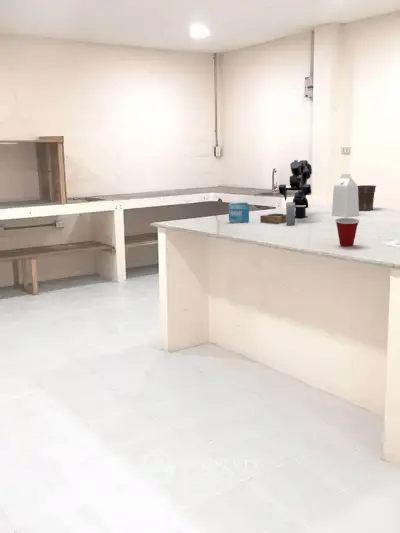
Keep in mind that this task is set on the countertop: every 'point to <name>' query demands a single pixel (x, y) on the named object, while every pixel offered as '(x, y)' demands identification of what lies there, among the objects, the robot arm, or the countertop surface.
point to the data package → (239, 212)
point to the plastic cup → (346, 230)
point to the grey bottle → (290, 213)
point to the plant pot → (366, 197)
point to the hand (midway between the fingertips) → (293, 200)
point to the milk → (345, 197)
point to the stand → (273, 218)
